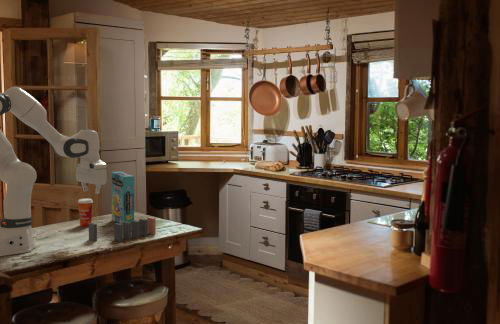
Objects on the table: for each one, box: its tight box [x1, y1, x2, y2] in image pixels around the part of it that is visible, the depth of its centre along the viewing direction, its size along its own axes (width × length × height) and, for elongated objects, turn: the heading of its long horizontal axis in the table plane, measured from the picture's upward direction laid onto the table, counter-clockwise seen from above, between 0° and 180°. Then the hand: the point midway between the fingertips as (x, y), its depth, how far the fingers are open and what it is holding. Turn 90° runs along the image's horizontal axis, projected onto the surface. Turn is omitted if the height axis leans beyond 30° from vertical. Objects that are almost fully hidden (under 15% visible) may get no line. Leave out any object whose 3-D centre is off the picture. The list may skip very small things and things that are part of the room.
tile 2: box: [113, 222, 124, 243], centre depth 262 cm, size 2×4×8 cm, turn 49°
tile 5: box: [138, 218, 149, 237], centre depth 273 cm, size 2×4×8 cm, turn 49°
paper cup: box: [77, 198, 94, 228], centre depth 291 cm, size 8×8×14 cm
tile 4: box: [131, 219, 141, 239], centre depth 269 cm, size 2×4×8 cm, turn 49°
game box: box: [111, 171, 135, 225], centre depth 298 cm, size 20×6×27 cm, turn 31°
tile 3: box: [123, 221, 132, 240], centre depth 266 cm, size 2×4×8 cm, turn 49°
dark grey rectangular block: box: [88, 222, 98, 242], centre depth 262 cm, size 2×4×8 cm, turn 49°
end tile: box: [147, 216, 157, 235], centre depth 277 cm, size 2×4×8 cm, turn 49°
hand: (91, 192), depth 261 cm, fingers open, 8 cm apart
